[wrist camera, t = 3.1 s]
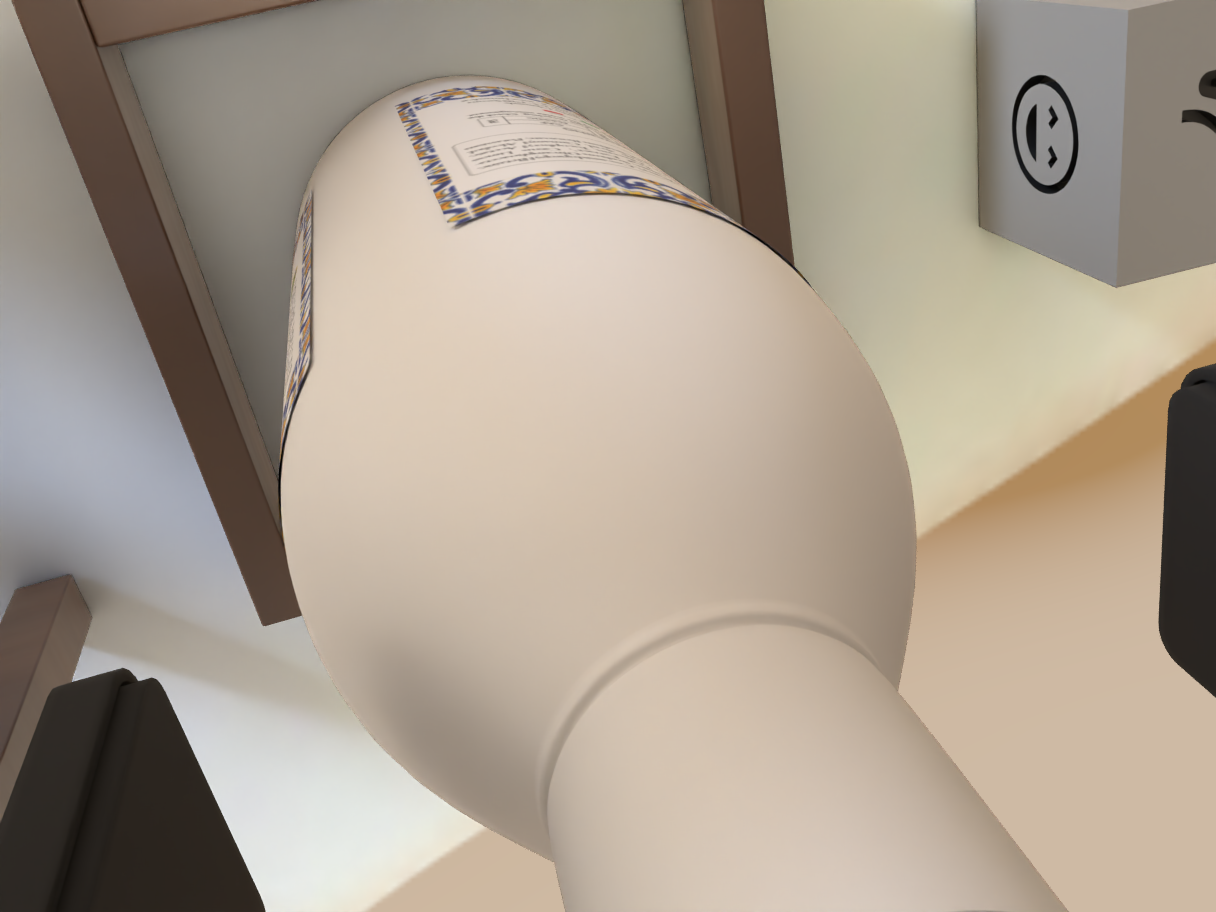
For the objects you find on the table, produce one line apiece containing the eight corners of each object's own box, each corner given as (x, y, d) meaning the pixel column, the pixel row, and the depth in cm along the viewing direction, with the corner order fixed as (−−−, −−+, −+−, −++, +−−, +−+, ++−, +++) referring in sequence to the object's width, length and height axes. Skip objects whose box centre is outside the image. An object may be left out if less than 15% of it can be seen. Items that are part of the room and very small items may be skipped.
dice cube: (1189, -50, 24) (1383, -45, 20) (1174, 180, 27) (1345, 230, 22) (976, -5, 24) (1128, 9, 19) (979, 226, 26) (1116, 287, 21)
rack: (-487, 791, 23) (-955, 1294, 15) (-980, 206, 18) (-2204, 467, 9) (786, 433, 27) (1008, 670, 18) (711, -151, 21) (981, -207, 13)
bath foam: (460, 462, 25) (795, 1686, 8) (219, 239, 22) (-154, 1454, 5) (694, 254, 25) (1662, 1082, 7) (479, -9, 21) (1254, 289, 4)
